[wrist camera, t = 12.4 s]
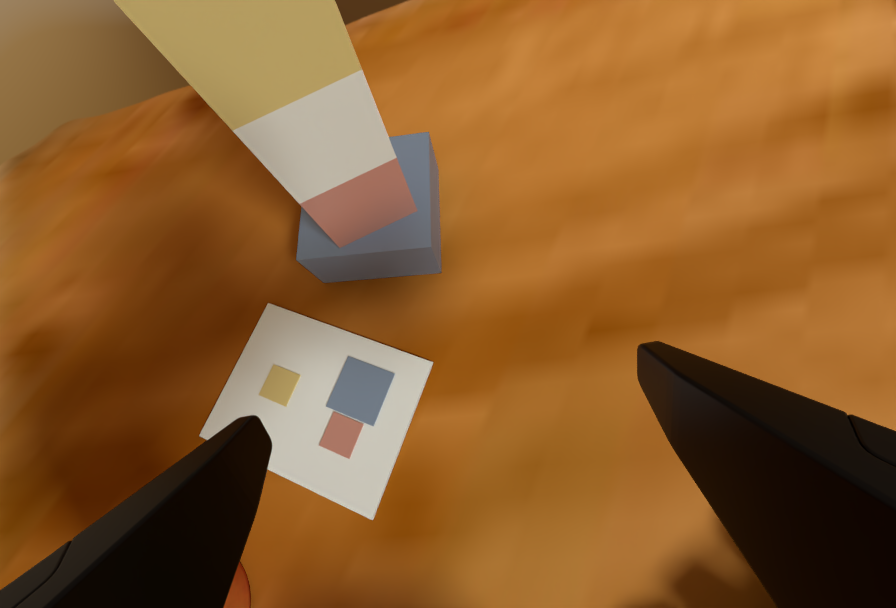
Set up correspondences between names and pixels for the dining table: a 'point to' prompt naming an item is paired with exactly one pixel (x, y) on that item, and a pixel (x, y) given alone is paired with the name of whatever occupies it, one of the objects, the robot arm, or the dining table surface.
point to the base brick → (385, 228)
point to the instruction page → (324, 405)
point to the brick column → (289, 101)
